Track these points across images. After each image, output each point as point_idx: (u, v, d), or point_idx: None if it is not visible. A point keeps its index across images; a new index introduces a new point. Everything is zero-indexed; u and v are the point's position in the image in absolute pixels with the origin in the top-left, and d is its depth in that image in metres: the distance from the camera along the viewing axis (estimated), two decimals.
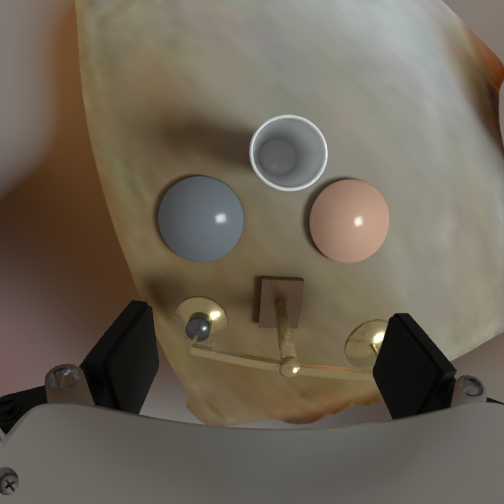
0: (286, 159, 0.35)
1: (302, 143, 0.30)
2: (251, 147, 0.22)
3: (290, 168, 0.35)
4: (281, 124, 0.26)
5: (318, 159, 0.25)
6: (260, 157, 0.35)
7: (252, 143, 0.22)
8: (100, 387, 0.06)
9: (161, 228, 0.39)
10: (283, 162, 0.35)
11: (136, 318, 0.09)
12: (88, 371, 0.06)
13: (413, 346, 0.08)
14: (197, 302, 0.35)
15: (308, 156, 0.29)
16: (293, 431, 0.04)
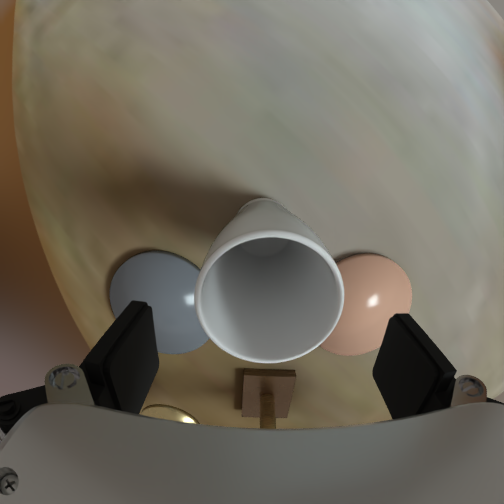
0: None
1: None
2: (197, 297, 0.12)
3: (282, 247, 0.25)
4: None
5: (325, 287, 0.15)
6: None
7: (198, 290, 0.12)
8: (100, 387, 0.06)
9: (115, 313, 0.29)
10: (272, 238, 0.25)
11: (136, 318, 0.09)
12: (88, 371, 0.06)
13: (413, 346, 0.08)
14: (163, 412, 0.25)
15: (309, 255, 0.19)
16: (293, 431, 0.04)
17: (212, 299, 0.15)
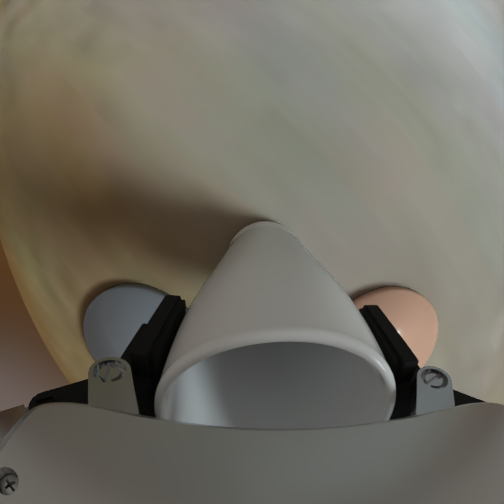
0: None
1: None
2: (159, 416, 0.06)
3: None
4: None
5: (357, 372, 0.09)
6: None
7: (159, 408, 0.06)
8: (144, 378, 0.07)
9: (92, 352, 0.23)
10: None
11: (173, 311, 0.09)
12: (133, 363, 0.07)
13: (378, 336, 0.09)
14: None
15: None
16: (293, 431, 0.04)
17: (191, 390, 0.09)
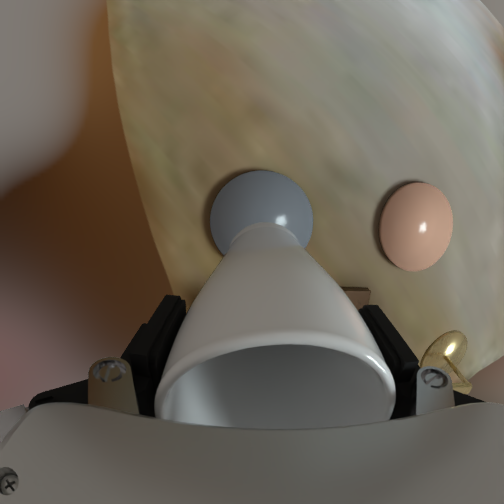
0: None
1: None
2: (159, 417, 0.06)
3: None
4: None
5: (357, 374, 0.09)
6: None
7: (160, 410, 0.06)
8: (145, 378, 0.07)
9: (213, 231, 0.33)
10: None
11: (173, 311, 0.09)
12: (133, 363, 0.07)
13: (378, 336, 0.09)
14: None
15: None
16: (293, 431, 0.04)
17: (190, 392, 0.09)
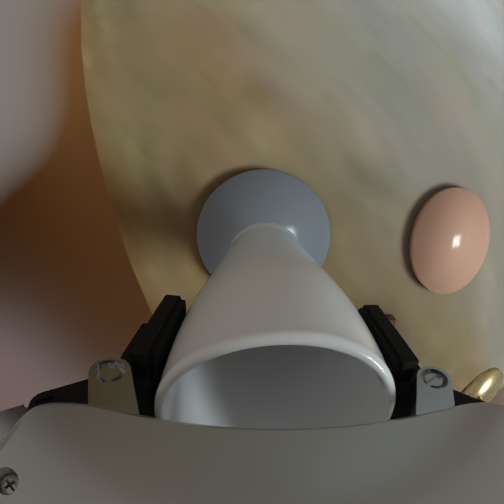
0: None
1: None
2: None
3: None
4: None
5: (357, 374, 0.09)
6: None
7: (159, 410, 0.06)
8: (145, 378, 0.07)
9: (201, 249, 0.26)
10: None
11: (173, 311, 0.09)
12: (133, 363, 0.07)
13: (378, 336, 0.09)
14: None
15: None
16: (293, 431, 0.04)
17: (190, 392, 0.09)
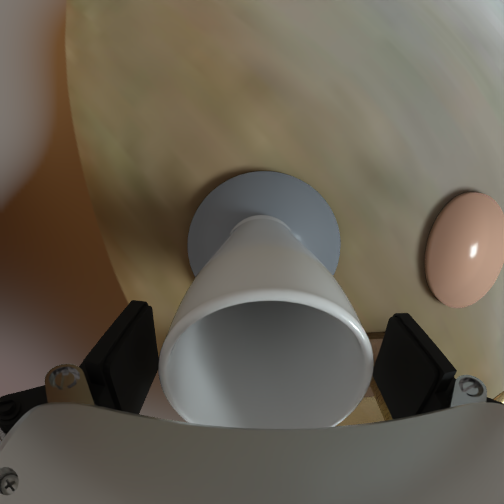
0: None
1: None
2: (162, 376, 0.08)
3: None
4: None
5: (342, 346, 0.10)
6: None
7: (163, 368, 0.08)
8: (100, 387, 0.06)
9: (193, 262, 0.22)
10: None
11: (136, 318, 0.09)
12: (88, 371, 0.06)
13: (413, 346, 0.08)
14: None
15: None
16: (293, 431, 0.04)
17: (191, 362, 0.11)
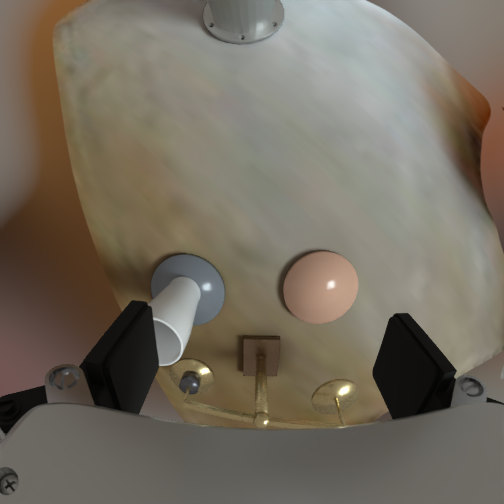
0: None
1: None
2: None
3: None
4: None
5: None
6: None
7: None
8: (100, 387, 0.06)
9: None
10: None
11: (136, 318, 0.09)
12: (88, 371, 0.06)
13: (413, 346, 0.08)
14: (188, 363, 0.40)
15: None
16: (293, 431, 0.04)
17: None
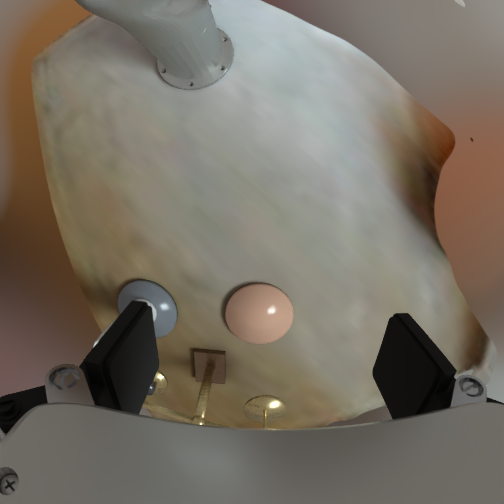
0: None
1: None
2: None
3: None
4: None
5: None
6: None
7: None
8: (100, 387, 0.06)
9: None
10: None
11: (136, 318, 0.09)
12: (88, 371, 0.06)
13: (413, 346, 0.08)
14: None
15: None
16: (293, 431, 0.04)
17: None
